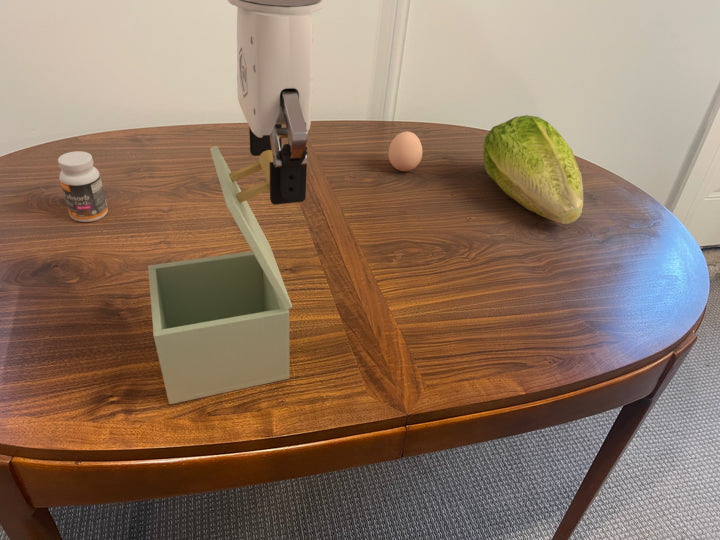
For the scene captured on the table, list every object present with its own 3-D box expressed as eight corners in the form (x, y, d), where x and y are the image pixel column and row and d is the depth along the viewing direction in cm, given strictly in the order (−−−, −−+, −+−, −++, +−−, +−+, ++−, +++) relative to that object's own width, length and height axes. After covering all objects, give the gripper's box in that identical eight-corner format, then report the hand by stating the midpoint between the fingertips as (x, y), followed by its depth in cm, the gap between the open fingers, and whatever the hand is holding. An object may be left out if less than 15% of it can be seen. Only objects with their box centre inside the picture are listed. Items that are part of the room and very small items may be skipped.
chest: (169, 405, 59) (153, 336, 52) (162, 332, 68) (147, 265, 61) (289, 378, 63) (289, 312, 57) (269, 313, 72) (266, 248, 65)
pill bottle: (63, 222, 84) (45, 165, 78) (80, 203, 89) (64, 147, 82) (100, 225, 84) (85, 168, 78) (114, 206, 89) (101, 151, 83)
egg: (379, 168, 106) (383, 131, 102) (400, 158, 111) (405, 122, 106) (405, 181, 103) (411, 143, 98) (426, 170, 107) (432, 133, 102)
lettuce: (528, 210, 85) (616, 166, 83) (464, 127, 101) (538, 88, 99) (538, 260, 96) (616, 221, 94) (479, 178, 112) (545, 143, 110)
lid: (226, 207, 46) (290, 179, 47) (209, 147, 55) (263, 124, 55) (285, 310, 56) (337, 286, 57) (263, 247, 65) (308, 226, 65)
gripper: (211, -40, 47) (224, 140, 58) (247, 9, 35) (254, 228, 45) (294, -37, 50) (292, 136, 60) (356, 11, 37) (339, 219, 48)
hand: (276, 176), depth 53 cm, fingers open, 9 cm apart
